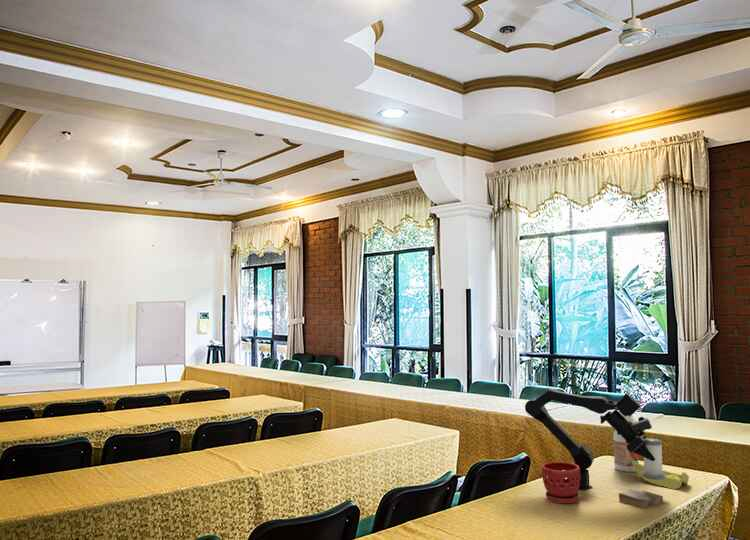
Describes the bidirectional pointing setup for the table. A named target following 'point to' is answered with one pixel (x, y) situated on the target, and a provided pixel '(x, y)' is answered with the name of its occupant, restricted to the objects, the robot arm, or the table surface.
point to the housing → (654, 467)
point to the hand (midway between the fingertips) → (654, 458)
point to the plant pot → (561, 481)
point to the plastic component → (670, 478)
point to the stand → (641, 498)
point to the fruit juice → (623, 451)
